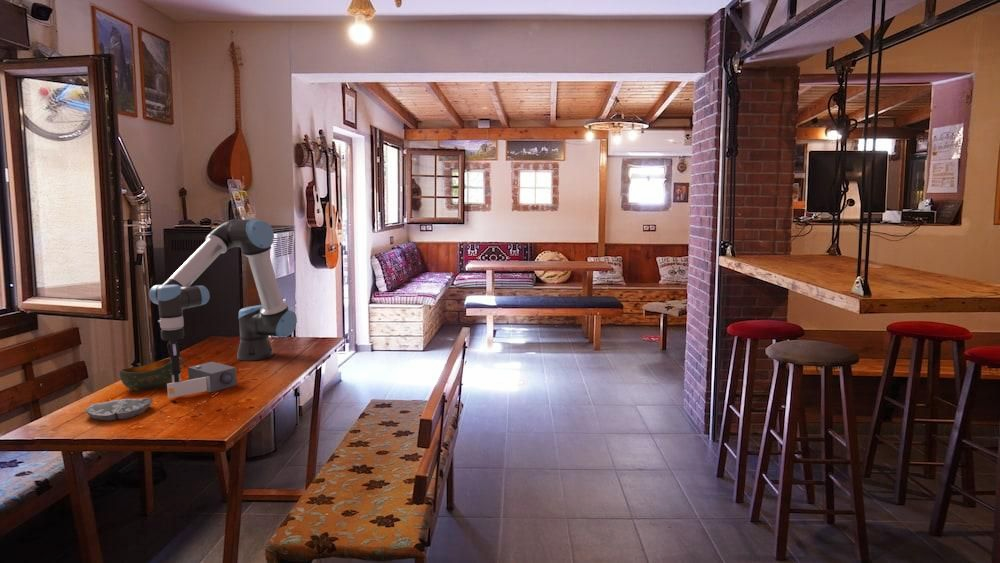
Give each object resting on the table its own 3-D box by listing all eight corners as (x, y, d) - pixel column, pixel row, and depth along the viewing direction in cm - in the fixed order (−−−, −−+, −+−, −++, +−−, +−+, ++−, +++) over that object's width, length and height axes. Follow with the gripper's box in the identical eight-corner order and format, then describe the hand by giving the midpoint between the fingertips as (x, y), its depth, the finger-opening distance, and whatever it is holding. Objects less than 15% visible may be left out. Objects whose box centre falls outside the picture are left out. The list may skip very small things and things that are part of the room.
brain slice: (80, 427, 201) (79, 419, 200) (90, 411, 216) (89, 402, 216) (150, 418, 208) (149, 410, 208) (155, 403, 224) (154, 395, 223)
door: (168, 399, 227) (166, 383, 226) (210, 391, 236) (209, 376, 235) (169, 400, 225) (167, 384, 224) (211, 392, 234) (210, 377, 233)
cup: (175, 391, 237) (172, 364, 235) (118, 393, 234) (115, 367, 233) (187, 380, 250) (185, 356, 248) (133, 383, 247) (131, 358, 246)
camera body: (213, 378, 252) (212, 360, 251) (239, 385, 243) (238, 366, 241) (189, 384, 244) (187, 365, 243) (215, 392, 234) (213, 372, 233)
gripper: (159, 325, 230) (165, 387, 233) (161, 332, 219) (166, 397, 222) (182, 323, 234) (187, 384, 237) (185, 330, 223) (190, 394, 226)
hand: (177, 390), depth 230 cm, fingers closed
